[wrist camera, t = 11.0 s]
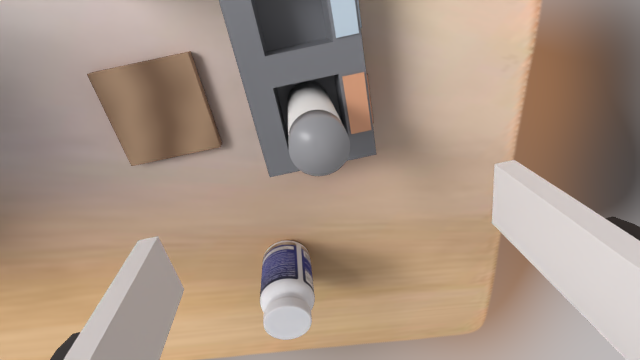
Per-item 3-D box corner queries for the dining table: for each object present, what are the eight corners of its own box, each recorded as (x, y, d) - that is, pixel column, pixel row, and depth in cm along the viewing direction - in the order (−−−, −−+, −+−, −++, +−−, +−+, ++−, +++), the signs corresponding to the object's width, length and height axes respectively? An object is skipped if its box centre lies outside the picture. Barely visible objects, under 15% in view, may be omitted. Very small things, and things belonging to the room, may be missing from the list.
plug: (292, 126, 34) (296, 181, 23) (283, 86, 32) (281, 125, 21) (332, 118, 34) (354, 169, 23) (325, 77, 32) (345, 111, 21)
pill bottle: (255, 267, 42) (248, 335, 33) (274, 231, 40) (272, 294, 31) (298, 281, 44) (301, 350, 35) (318, 247, 42) (327, 311, 33)
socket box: (271, 156, 36) (269, 178, 31) (216, -44, 28) (202, -55, 23) (366, 136, 36) (379, 154, 31) (338, -70, 28) (349, -87, 23)
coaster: (135, 162, 35) (131, 166, 34) (92, 72, 31) (86, 74, 30) (222, 143, 35) (220, 147, 34) (190, 51, 31) (187, 52, 30)
